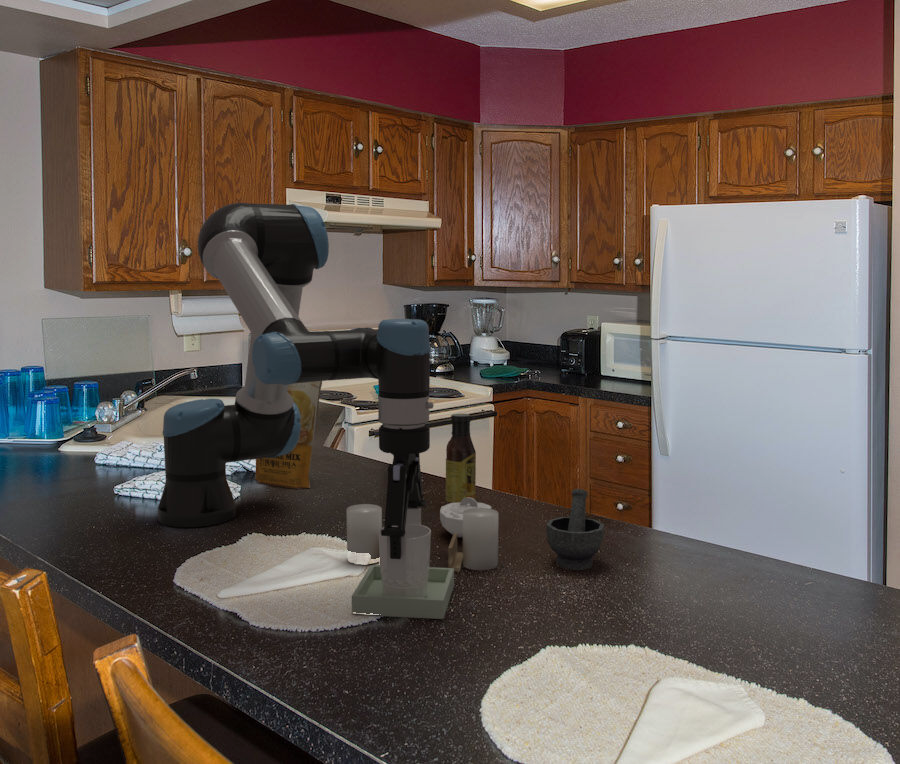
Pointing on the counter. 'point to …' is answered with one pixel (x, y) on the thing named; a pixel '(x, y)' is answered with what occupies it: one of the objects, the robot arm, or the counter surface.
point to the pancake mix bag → (296, 463)
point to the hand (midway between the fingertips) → (405, 563)
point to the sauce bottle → (460, 461)
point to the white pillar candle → (480, 538)
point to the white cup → (408, 563)
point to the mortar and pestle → (575, 535)
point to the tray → (431, 606)
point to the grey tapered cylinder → (364, 529)
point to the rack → (454, 555)
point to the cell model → (457, 514)
